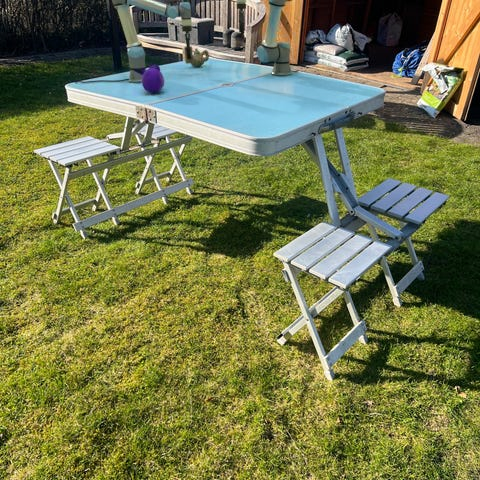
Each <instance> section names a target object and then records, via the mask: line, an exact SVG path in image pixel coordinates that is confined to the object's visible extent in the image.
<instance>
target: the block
mask: <svg viewBox="0 0 480 480" xmlns="http://www.w3.org/2000/svg"><path fill="white" fill-rule="evenodd" d="M183 47H184V57H185V58H184V59H185V64H186V65H188V64H189V65H190V64H191V63H193V55H194V52H193V46H192V45H190V53H191V59H187V50H186V49H187V46H183Z"/></svg>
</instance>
